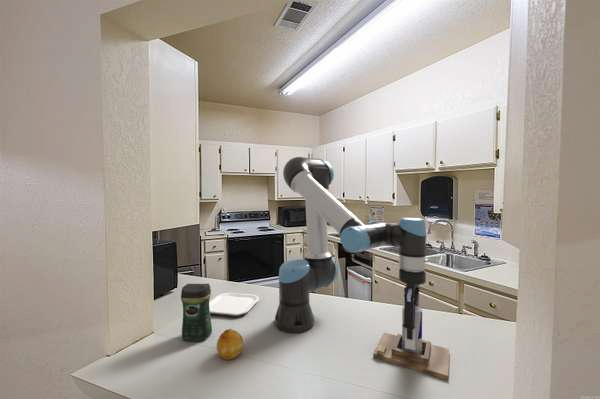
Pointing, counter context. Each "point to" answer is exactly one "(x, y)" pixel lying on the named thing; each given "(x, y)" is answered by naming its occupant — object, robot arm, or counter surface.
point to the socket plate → (414, 356)
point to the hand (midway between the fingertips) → (411, 342)
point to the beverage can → (417, 331)
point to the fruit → (229, 344)
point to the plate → (232, 304)
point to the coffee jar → (196, 312)
